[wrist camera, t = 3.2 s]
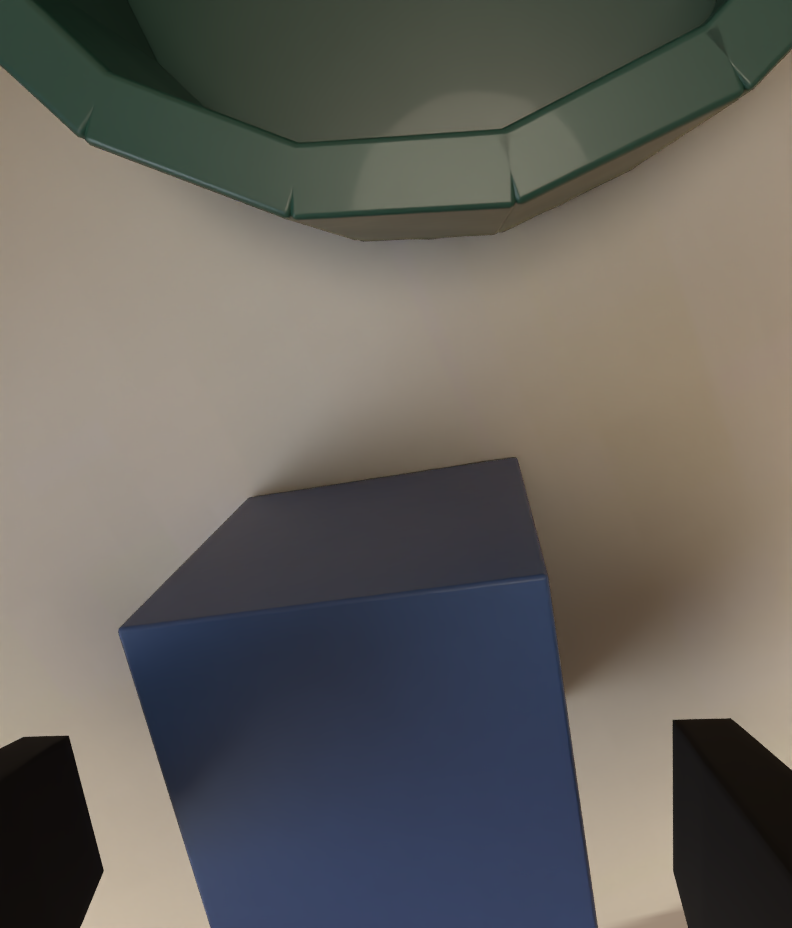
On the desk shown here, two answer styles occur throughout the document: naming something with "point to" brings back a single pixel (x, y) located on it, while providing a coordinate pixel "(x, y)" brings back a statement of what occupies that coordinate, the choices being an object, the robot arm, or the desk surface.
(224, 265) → the desk surface
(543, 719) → the block
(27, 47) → the pot
